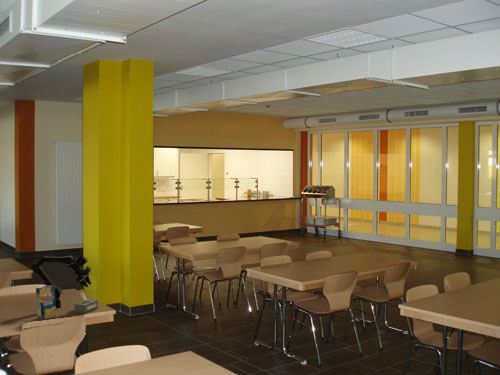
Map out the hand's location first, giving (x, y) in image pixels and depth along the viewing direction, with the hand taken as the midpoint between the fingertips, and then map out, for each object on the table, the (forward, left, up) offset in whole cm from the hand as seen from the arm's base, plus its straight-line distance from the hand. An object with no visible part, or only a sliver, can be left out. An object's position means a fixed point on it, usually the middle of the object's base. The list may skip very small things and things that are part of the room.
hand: (89, 285), depth 407 cm
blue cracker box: (-36, -7, -16) cm, 39 cm away
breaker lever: (-8, -11, -9) cm, 16 cm away
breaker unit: (-8, -11, -16) cm, 20 cm away
